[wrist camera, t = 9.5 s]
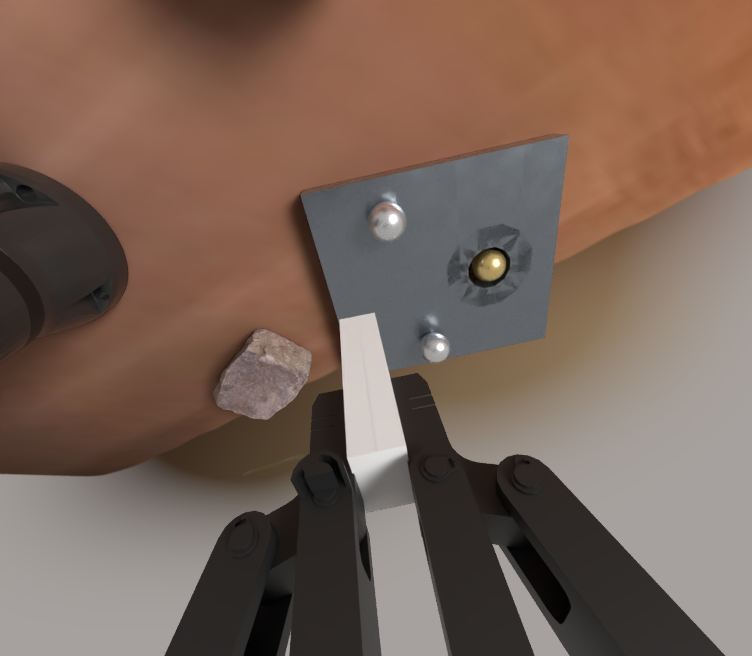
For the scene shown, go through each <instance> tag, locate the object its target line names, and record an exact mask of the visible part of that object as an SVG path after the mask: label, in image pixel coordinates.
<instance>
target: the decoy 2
mask: <svg viewBox="0 0 752 656" xmlns="http://www.w3.org/2000/svg"><path fill="white" fill-rule="evenodd" d="M419 349H420V353H421V355H422V357H423V358H424V359H425V360H427V361H429V362H431V363H439V362H442V361H443V360H445V359H446V358H447V357H448V355H449V353H450V342H449V340H448V339H447V337H446V336H444V335H443V334H441V333H437V332H432V333H429V334H427V335H425V336H424V337H423V338H422V340H421V342H420V346H419Z"/></svg>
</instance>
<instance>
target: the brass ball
mask: <svg viewBox="0 0 752 656" xmlns="http://www.w3.org/2000/svg"><path fill="white" fill-rule="evenodd" d="M505 269H506V259H505V257H504V255H503V254H502V253H501V252H500V251H498V250H496V249H484V250H482V251H481V252H480V253H478V254H477V255H476V256H475V257H474V259H473V262H472V270H473V273H474V275H475V276H476V277H477V278H478V279H480V280H482V281H487V282H490V281H494V280H496V279H498V278H500V277H501V276H502V275H503V273H504V271H505Z"/></svg>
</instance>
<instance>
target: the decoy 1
mask: <svg viewBox="0 0 752 656" xmlns="http://www.w3.org/2000/svg"><path fill="white" fill-rule="evenodd" d="M367 224H368V229H369V232H370V234H371V235H372V236H373V237H374V238H375V239H376V240H378V241H380V242H383V243H391V242H394V241H396V240H398V239H399V238H400V237H401V236H402V235H403V233H404V232H405V229H406V225H407V219H406V215H405V213H404V211H403V209H402V208H401V207H400V206H399V205H397V204H395V203H393V202H382V203H379V204H377V205H376V206H375V207H374V208H373V209H372V210H371V211H370V213H369V216H368V221H367Z"/></svg>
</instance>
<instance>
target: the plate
mask: <svg viewBox="0 0 752 656" xmlns="http://www.w3.org/2000/svg"><path fill="white" fill-rule="evenodd" d="M568 140H569V135H563V134H550V135H546V136H541V137H537V138H533V139H528V140H524V141H519V142H515V143H510V144H506V145H501V146H497V147H493V148H488V149H484V150H479V151H475V152H470V153H466V154H461V155H457V156H453V157H448V158H444V159H439V160H435V161H430V162H426V163H421V164H417V165H413V166H408V167H404V168H399V169H395V170H390V171H386V172H381V173H377V174H373V175H368V176H364V177H359V178H355V179H350V180H346V181H341V182H337V183H333V184H328V185H324V186H319V187H315V188H310V189H306V190H303V191H302V193H301V195H300V196H301V199H302V203H303V206H304V209H305V213H306V216H307V219H308V223H309V226H310V229H311V232H312V236H313V239H314V242H315V246H316V249H317V252H318V256H319V259H320V262H321V266H322V269H323V272H324V275H325V279H326V282H327V285H328V289H329V292H330V295H331V299H332V302H333V305H334V309H335V312H336V315H337V319H338V322H339V320H340V319H345V318H350V317H355V316H360V315H365V314H370V313H375V316H376V320H377V324H378V329H379V333H380V337H381V341H382V346H383V350H384V354H385V358H386V362H387V367H388V371H391V370H395V369H400V368H405V367H410V366H414V365H419V364H424V363H428V362H429V361H427V360H425V359H424V358H423V357H422V355H421V353H420V349H419V346H420V342H421V340H422V338H423V337H424V336H425V335H427V334H429V333H432V332H437V333H441V334H443V335H444V336H446V337H447V339H448V340H449V342H450V353H449V355H448V357H447V358H452V357H457V356H461V355H465V354H471V353H475V352H480V351H484V350H489V349H494V348H499V347H504V346H508V345H513V344H517V343H522V342H527V341H532V340H537V339H541V338H545V331H546V323H547V314H548V306H549V298H550V288H551V281H552V273H553V265H554V256H555V248H556V240H557V231H558V223H559V215H560V206H561V198H562V190H563V182H564V173H565V165H566V157H567V148H568ZM382 202H393V203H395V204H397V205H399V206H400V207H401V208H402V209H403V211H404V213H405V215H406V219H407V225H406V229H405V232H404V233H403V235H402V236H401V237H400V238H399V239H398V240H396V241H394V242H391V243H383V242H380V241H378V240H376V239H375V238H374V237H373V236H372V235H371V234H370V232H369V229H368V224H367V221H368V216H369V213H370V211H371V210H372V209H373V208H374V207H375V206H376V205H377V204H379V203H382ZM492 247H497V248H499V249H500V252H501V253H502V254H503V255H504V257H505V259H506V269H505V271H504V273H503V275H502V276H501V277H500V278H498V279H496V280H494V281H490V282H487V281H482V280H480V279H474V278H471V277H469V275H468V267H469V265H470V263H471V261H472V259H473V257H474V256H476V255H477V254H478V253H480V252H481V251H482V250H483V249H488V248H492ZM339 325H340V322H339ZM447 358H446V359H447Z"/></svg>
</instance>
